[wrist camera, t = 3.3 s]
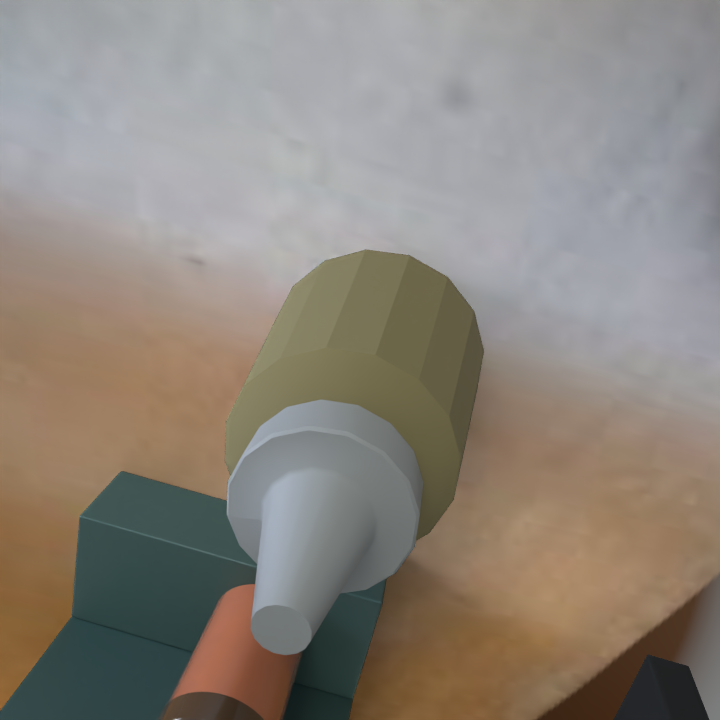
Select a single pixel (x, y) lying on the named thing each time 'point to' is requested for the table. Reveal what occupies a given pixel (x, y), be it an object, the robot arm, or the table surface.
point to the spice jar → (233, 670)
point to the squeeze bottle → (348, 434)
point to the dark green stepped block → (170, 613)
